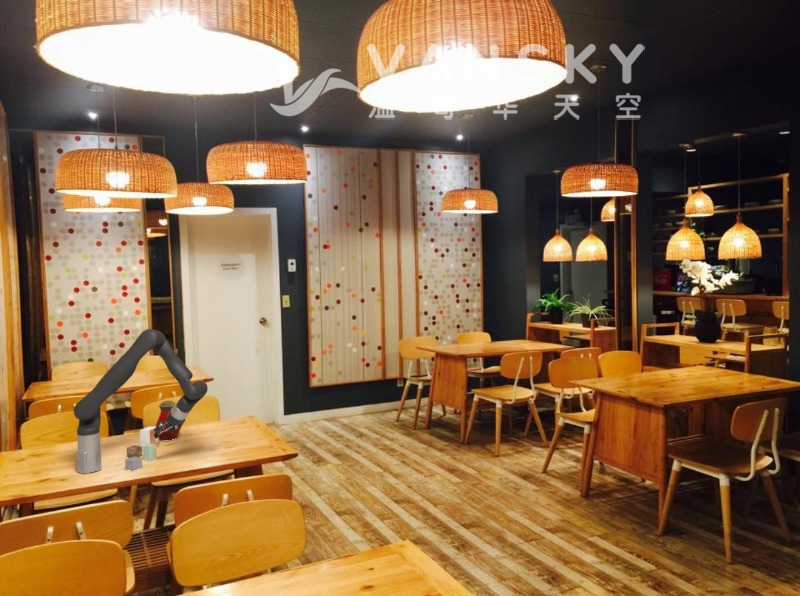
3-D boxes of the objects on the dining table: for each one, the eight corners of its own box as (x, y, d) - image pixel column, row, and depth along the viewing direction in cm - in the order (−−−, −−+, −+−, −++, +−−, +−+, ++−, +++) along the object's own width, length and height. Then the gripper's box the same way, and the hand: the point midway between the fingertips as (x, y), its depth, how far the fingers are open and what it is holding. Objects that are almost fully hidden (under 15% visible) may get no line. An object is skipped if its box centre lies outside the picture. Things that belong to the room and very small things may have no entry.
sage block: (149, 461, 300) (148, 447, 300) (143, 460, 302) (143, 446, 302) (156, 459, 304) (155, 444, 304) (150, 458, 306) (150, 443, 305)
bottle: (162, 434, 348) (160, 398, 347) (186, 434, 348) (185, 398, 346) (149, 442, 332) (148, 405, 331) (175, 442, 332) (173, 404, 331)
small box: (150, 451, 318) (149, 430, 317) (140, 450, 319) (139, 430, 318) (159, 446, 326) (158, 426, 325) (149, 446, 327) (148, 425, 326)
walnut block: (133, 459, 305) (133, 448, 305) (126, 457, 308) (126, 447, 307) (142, 456, 309) (142, 446, 309) (135, 455, 312) (135, 444, 312)
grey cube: (132, 471, 286) (132, 461, 286) (125, 470, 288) (125, 459, 288) (142, 468, 290) (141, 457, 290) (135, 467, 293) (134, 456, 293)
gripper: (186, 403, 299) (170, 425, 305) (162, 410, 286) (146, 432, 293) (195, 416, 297) (178, 437, 303) (170, 422, 284) (154, 445, 290)
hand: (162, 434), depth 298 cm, fingers open, 8 cm apart
